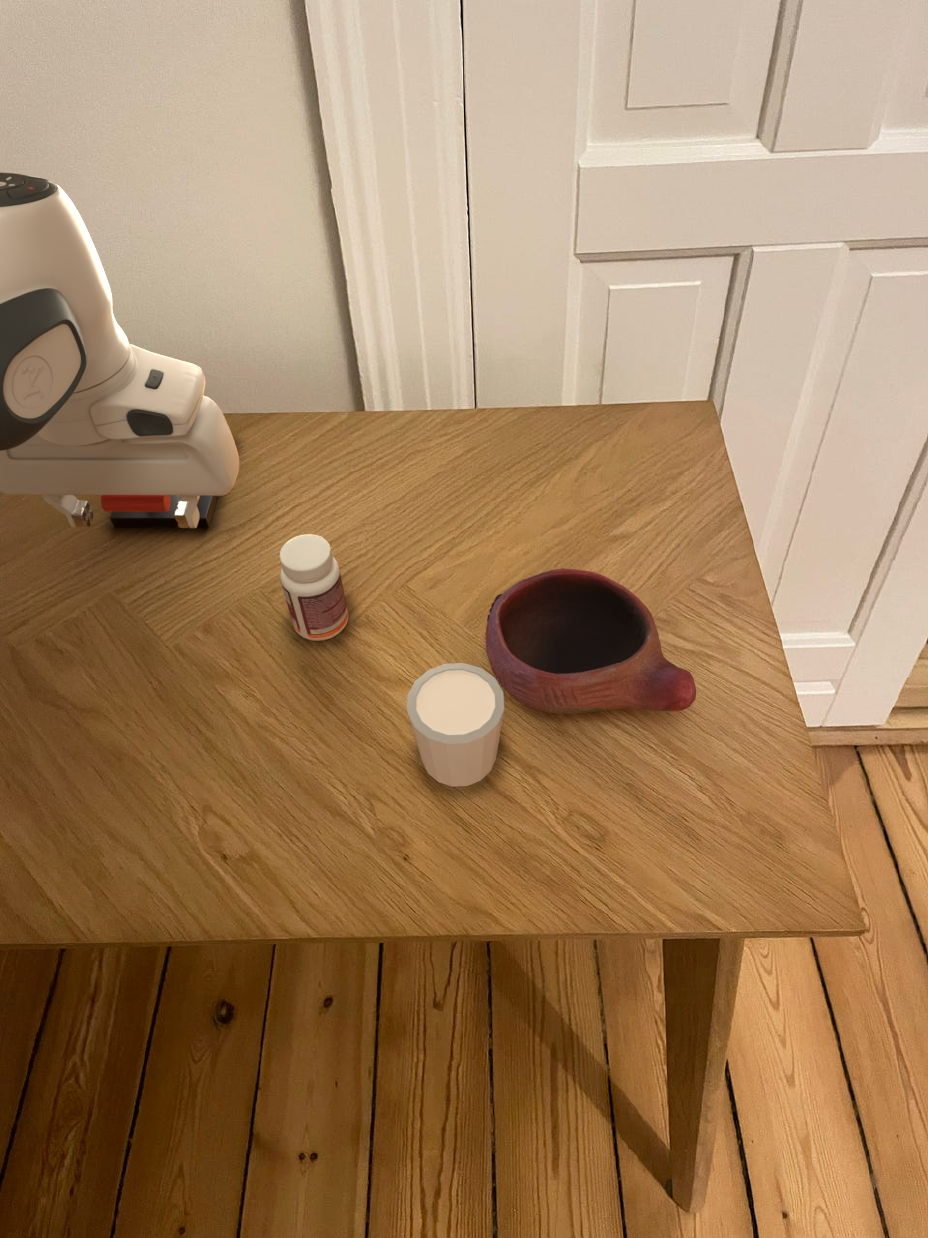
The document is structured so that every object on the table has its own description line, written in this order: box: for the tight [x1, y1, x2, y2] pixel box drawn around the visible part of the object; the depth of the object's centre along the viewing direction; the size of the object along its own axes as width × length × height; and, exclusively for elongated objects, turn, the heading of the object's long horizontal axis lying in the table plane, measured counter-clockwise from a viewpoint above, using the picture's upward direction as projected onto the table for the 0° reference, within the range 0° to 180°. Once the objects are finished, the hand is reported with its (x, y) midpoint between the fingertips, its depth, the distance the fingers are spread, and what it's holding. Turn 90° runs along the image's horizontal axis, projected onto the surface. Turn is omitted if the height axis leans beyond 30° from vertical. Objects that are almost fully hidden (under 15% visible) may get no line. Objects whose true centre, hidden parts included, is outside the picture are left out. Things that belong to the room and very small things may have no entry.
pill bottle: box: [279, 533, 349, 642], centre depth 76 cm, size 5×5×8 cm
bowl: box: [485, 568, 697, 715], centre depth 72 cm, size 16×13×8 cm
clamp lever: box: [100, 495, 171, 513], centre depth 82 cm, size 12×6×2 cm
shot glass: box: [406, 662, 505, 788], centre depth 68 cm, size 7×7×7 cm
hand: (136, 522), depth 82 cm, fingers open, 8 cm apart
